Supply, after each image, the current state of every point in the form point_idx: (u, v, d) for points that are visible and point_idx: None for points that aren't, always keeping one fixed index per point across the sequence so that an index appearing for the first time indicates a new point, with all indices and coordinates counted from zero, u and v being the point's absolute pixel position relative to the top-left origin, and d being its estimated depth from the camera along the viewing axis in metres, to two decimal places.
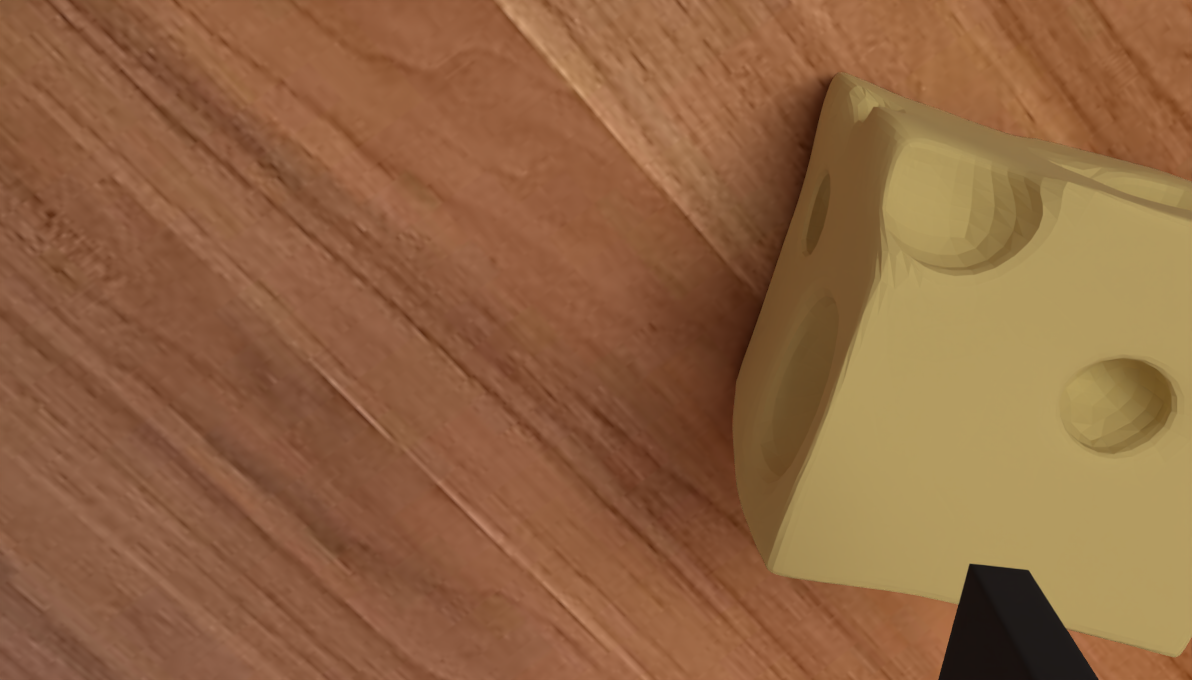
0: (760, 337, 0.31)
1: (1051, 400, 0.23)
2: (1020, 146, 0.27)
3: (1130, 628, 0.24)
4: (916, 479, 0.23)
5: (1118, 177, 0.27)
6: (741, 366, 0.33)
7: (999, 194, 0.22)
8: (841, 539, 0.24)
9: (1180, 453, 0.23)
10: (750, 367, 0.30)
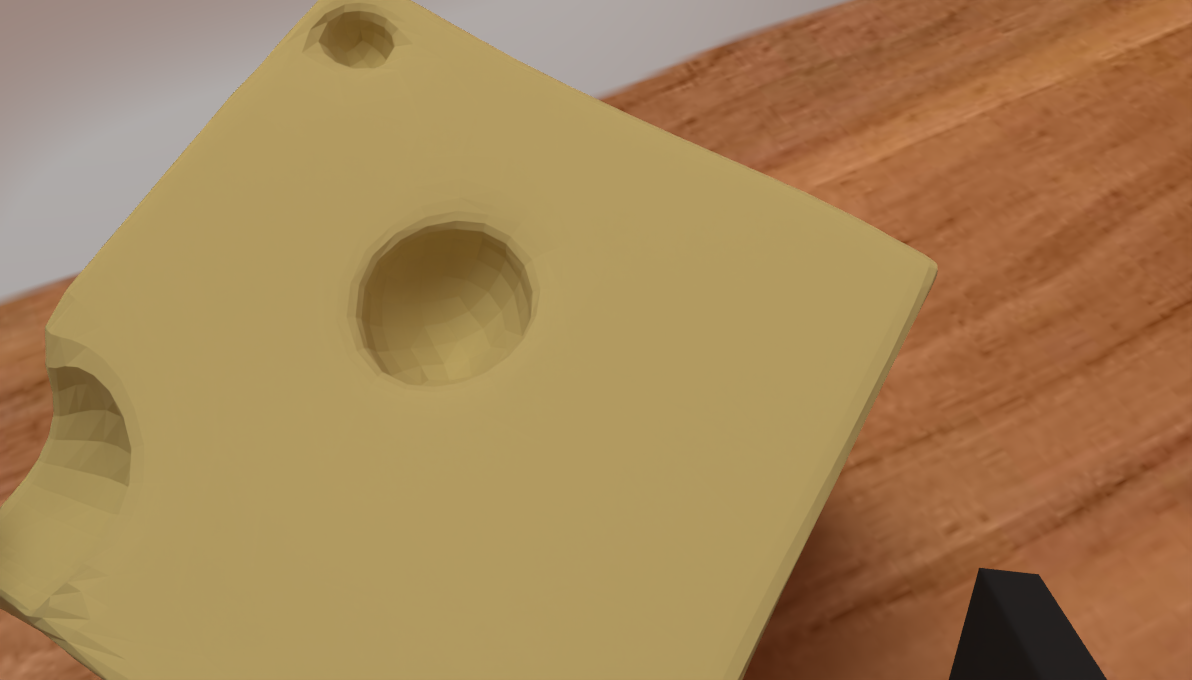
0: None
1: (395, 394, 0.13)
2: None
3: (867, 327, 0.14)
4: (467, 646, 0.12)
5: None
6: None
7: (86, 430, 0.14)
8: None
9: (551, 224, 0.14)
10: None
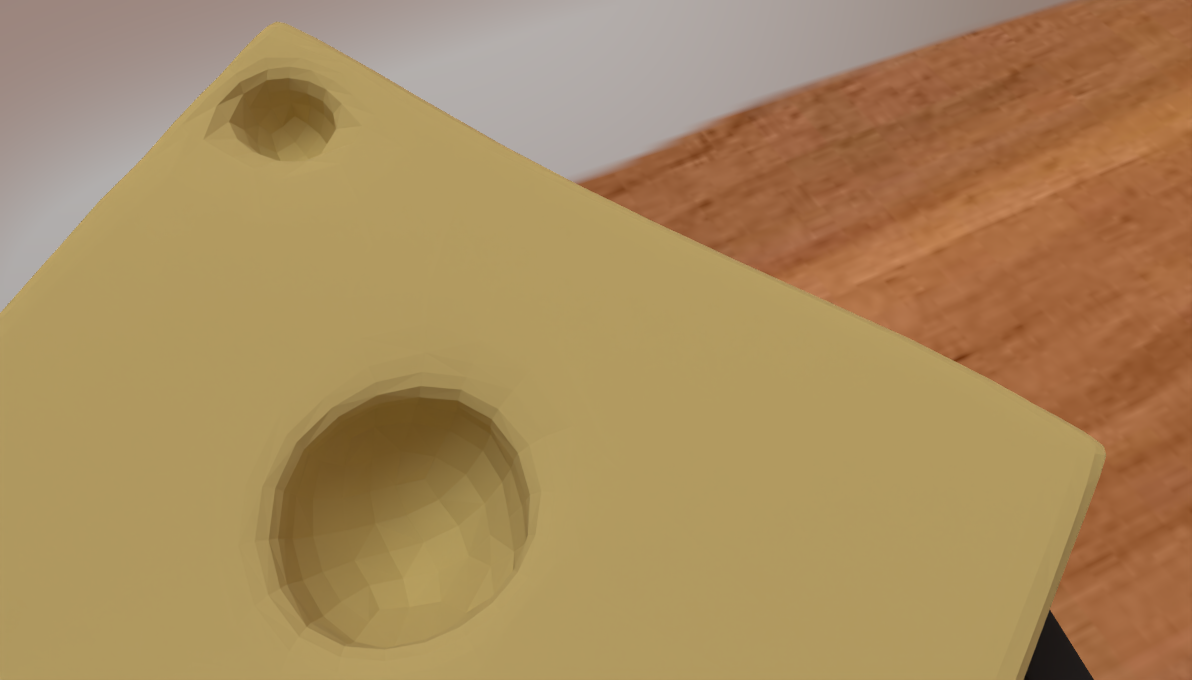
0: None
1: (323, 669, 0.09)
2: None
3: (1016, 548, 0.10)
4: None
5: None
6: None
7: None
8: None
9: (556, 392, 0.10)
10: None
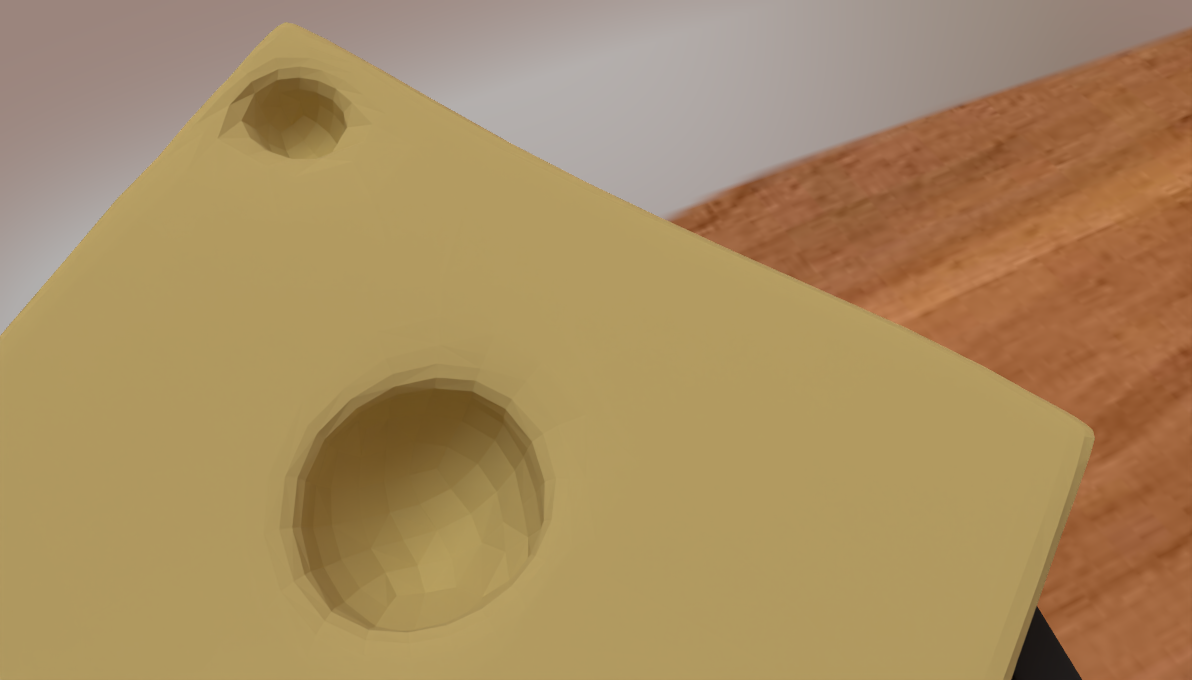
0: None
1: (350, 651, 0.09)
2: None
3: (1011, 527, 0.10)
4: None
5: None
6: None
7: None
8: None
9: (568, 382, 0.10)
10: None
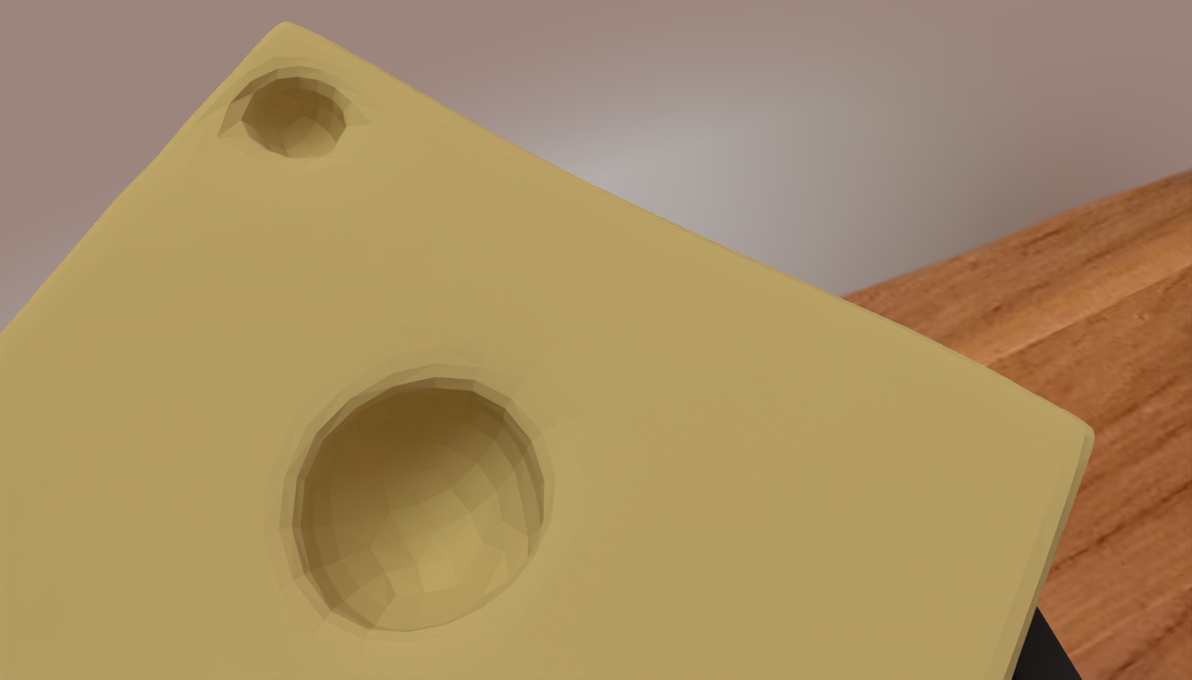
0: None
1: (350, 649, 0.09)
2: None
3: (1011, 526, 0.10)
4: None
5: None
6: None
7: None
8: None
9: (568, 381, 0.10)
10: None
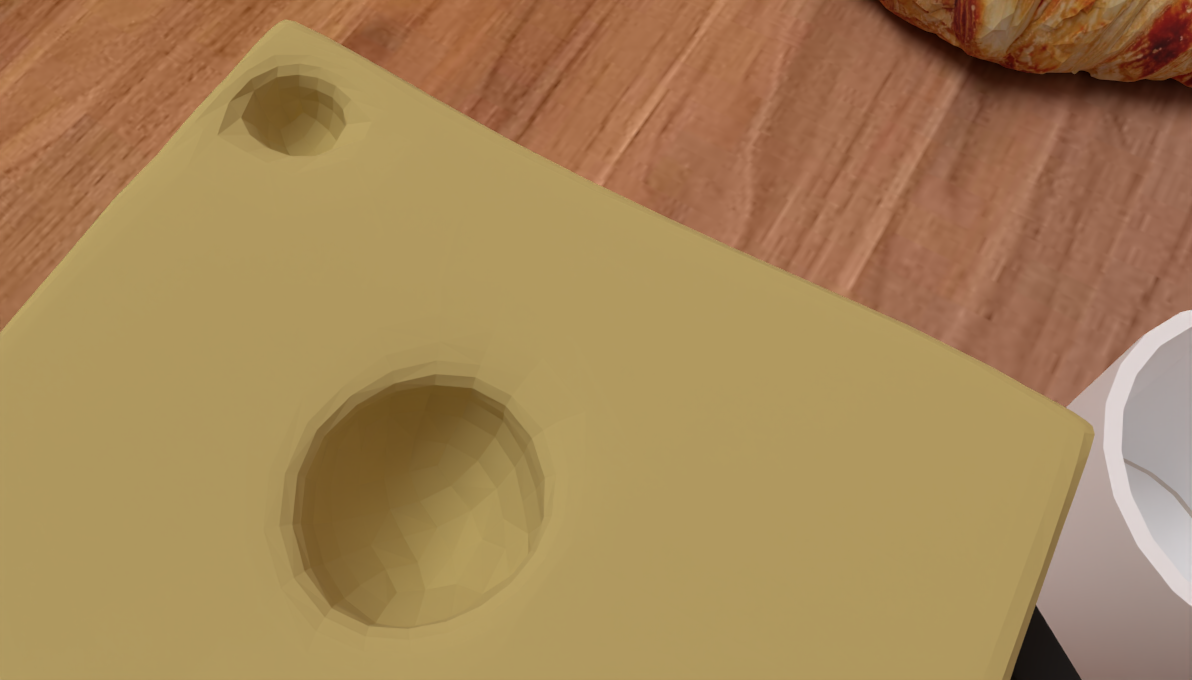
0: None
1: (351, 647, 0.09)
2: None
3: (1011, 523, 0.10)
4: None
5: None
6: None
7: None
8: None
9: (568, 379, 0.10)
10: None
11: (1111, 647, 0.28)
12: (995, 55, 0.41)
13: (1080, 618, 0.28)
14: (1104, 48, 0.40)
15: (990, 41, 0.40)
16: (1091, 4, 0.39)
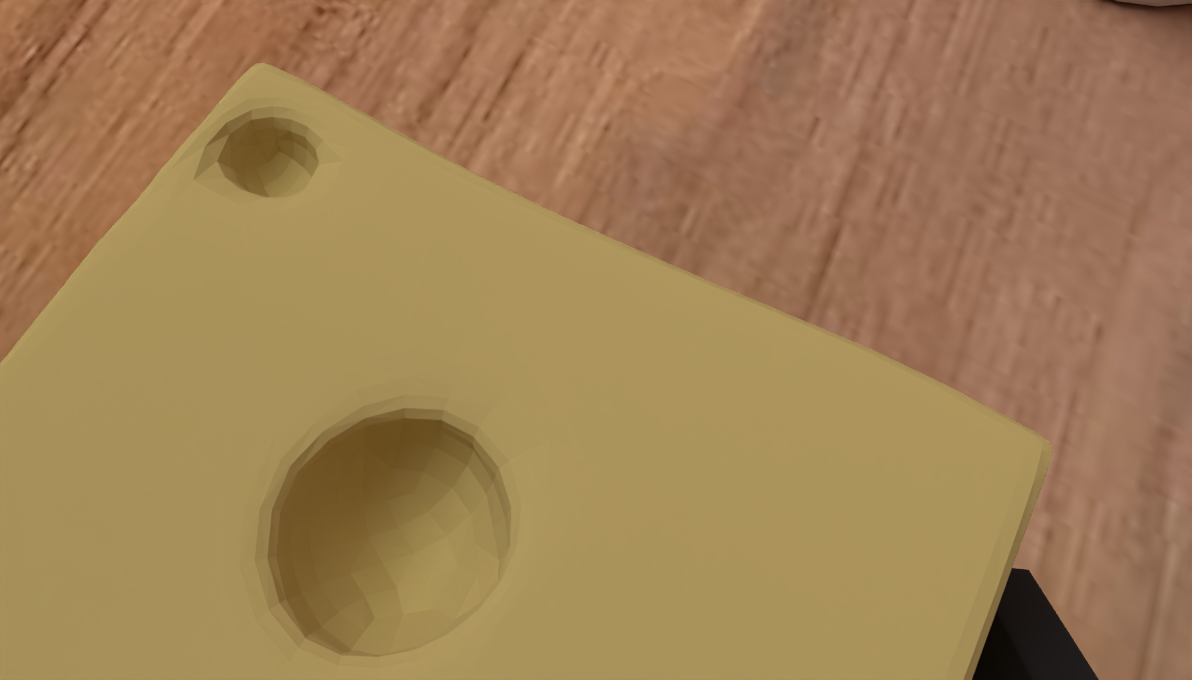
0: None
1: (323, 676, 0.10)
2: None
3: (967, 542, 0.10)
4: None
5: None
6: None
7: None
8: None
9: (533, 408, 0.11)
10: None
11: None
12: None
13: None
14: None
15: None
16: None
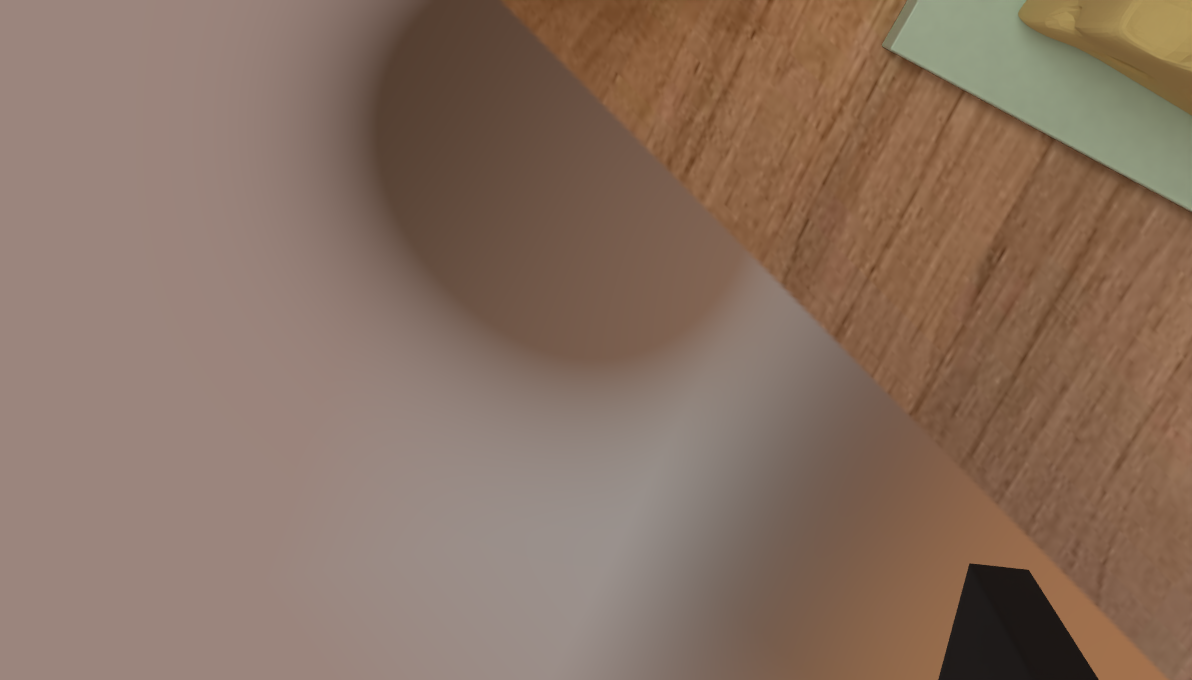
0: None
1: None
2: None
3: None
4: None
5: None
6: None
7: None
8: None
9: None
10: None
11: None
12: None
13: None
14: None
15: None
16: None
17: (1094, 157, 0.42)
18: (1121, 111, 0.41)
